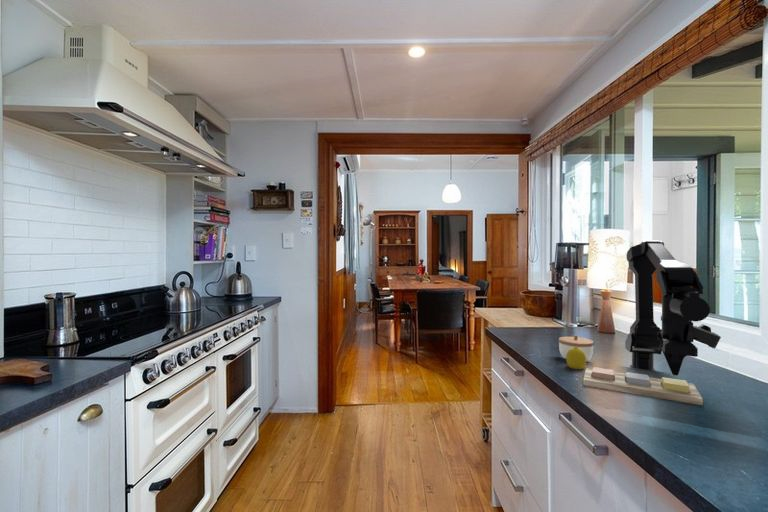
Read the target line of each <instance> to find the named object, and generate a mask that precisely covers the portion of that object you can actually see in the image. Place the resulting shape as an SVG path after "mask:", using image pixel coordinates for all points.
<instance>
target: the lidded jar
mask: <svg viewBox="0 0 768 512" xmlns="http://www.w3.org/2000/svg"><path fill="white" fill-rule="evenodd" d="M594 345H595V343H594V341H593V340H592V339H589V338H585V337H580V336H578V335H577V334H574V335H573V336H560V337H558V347H559V348H558V350H559V353H560V355H561V357H562V358H563V359H565V360H566V357H567V353H568V351H569V350H570V349H572V348H575V347H578V348H579V349H581V350H582V351H583V352H584V354H585V356H586V362H589V361H590V359H591V358H592V357H593V352H594Z"/></svg>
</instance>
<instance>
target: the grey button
mask: <svg viewBox="0 0 768 512" xmlns="http://www.w3.org/2000/svg"><path fill="white" fill-rule="evenodd" d="M625 374H626V382H625V383H631V384H637V385H643V386H649V387H650V379H649V377H650V376H649V375H648V374H643V373H637V372H629V371H626V372H625Z"/></svg>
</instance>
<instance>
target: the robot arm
mask: <svg viewBox="0 0 768 512" xmlns="http://www.w3.org/2000/svg"><path fill="white" fill-rule="evenodd" d="M626 261H627V262H628V267H629V269H630V271H631V272H632V273H633V274H634V290H635V291H634V294H635V295H634V299H635V320H634V322H633V323H632V324H631V325H630V327H629V333H628V334H627V337H626V339H625V341H624V345H625V350H627V351H628V352H629V353H631V364H630V365H629V367H630V368H631V369H637V370H643V371H644V370H645V371H654V372H655V371H656V369H655V368H654V366H655V365H654V359H655V357H654V356H655V355H663V356H664V358H665V360H666V363H667V365H668V367H669V369H670V372H671V374H672V375H673V376H676V377H677V376H679V374H680V370H681V367H682V365H683V362H684V359H685V357H693V358H696V357H698V355H699V354H698V353H699V352H698V351H699V350H698V347H697V346H696V345H695V344H694V341H697V342H698V343H700V344H703V345H705V346H708V347H709V348H712V349H716V348H717V345H718V344H719V342H720V340H721V338H722V337H721V336H720V335H719V334H717V333H716V332H714V331H712V328H711V327H710V326H709V325H706V324H701V325H698V326H697V325H694V322H701V321H704V320H705V319H707V318H708V317H709V315H710V311H711V307H710V305H709V304H708V302H707V301H706V300H704V299H703V298H701V297H700V295H704V292H703V289H704V286H703V284H702V282H701V280H700V278H699V276H698V275H697V272H696V271H695V270H694V268H693V267H692V266H691V265H689V264H688V263H686V262H685V263H684V262H683V261H678V260H677V258H675V257H674V256H673V255H672V254H671V252H670V251H669V250H668V249H667V248H666V247H665V243H664V241H661V240H644V241H641V242H640V243H639V244H635V245H633V246H631V247H630V248H629V249H628V250H627V252H626ZM656 270H657V271H656ZM655 272H656V276H655V278H656V283H657V284H658V286H659V288H660V291H661V292H660V295H661V316H660V321H661V327H660V326H658V325H657V323H655V321H654V285H653V281H654V279H653V274H654V273H655ZM654 354H655V355H654Z"/></svg>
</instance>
